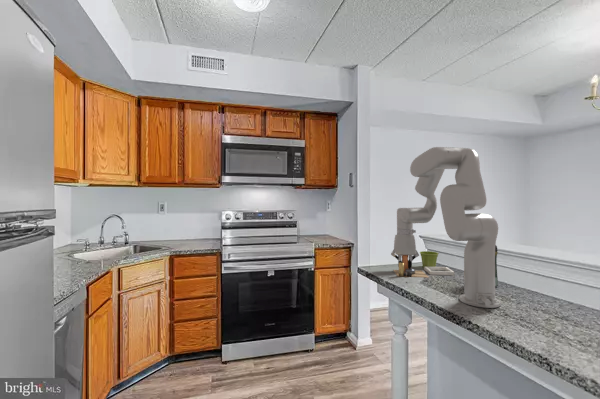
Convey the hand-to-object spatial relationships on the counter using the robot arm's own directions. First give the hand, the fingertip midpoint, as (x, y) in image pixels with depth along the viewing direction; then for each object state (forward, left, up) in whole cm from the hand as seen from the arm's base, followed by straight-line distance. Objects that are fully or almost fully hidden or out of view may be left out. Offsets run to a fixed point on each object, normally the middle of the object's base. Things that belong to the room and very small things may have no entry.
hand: (405, 268), depth 152 cm
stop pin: (0, 0, -1) cm, 1 cm away
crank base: (-5, -1, -2) cm, 6 cm away
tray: (-1, -16, -2) cm, 16 cm away
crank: (-8, +1, -1) cm, 8 cm away
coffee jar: (-18, -29, -2) cm, 35 cm away
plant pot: (+11, -14, -3) cm, 18 cm away
